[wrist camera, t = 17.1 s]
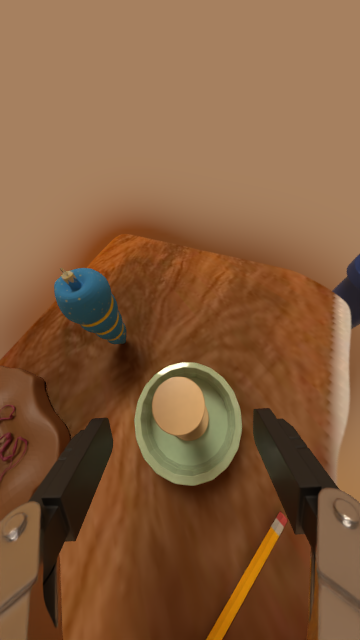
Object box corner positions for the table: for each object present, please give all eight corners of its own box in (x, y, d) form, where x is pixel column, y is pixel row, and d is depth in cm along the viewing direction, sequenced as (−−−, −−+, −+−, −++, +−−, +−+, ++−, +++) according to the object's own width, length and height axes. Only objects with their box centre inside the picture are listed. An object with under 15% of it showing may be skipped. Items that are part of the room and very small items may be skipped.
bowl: (214, 365, 24) (219, 352, 20) (246, 455, 19) (262, 465, 14) (142, 384, 23) (130, 375, 19) (154, 484, 18) (141, 502, 14)
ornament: (123, 322, 29) (65, 240, 16) (147, 336, 27) (105, 257, 14) (101, 348, 27) (14, 277, 14) (126, 365, 25) (53, 302, 12)
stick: (201, 391, 22) (210, 345, 9) (213, 434, 20) (249, 451, 7) (165, 401, 22) (123, 367, 9) (173, 445, 19) (132, 487, 6)
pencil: (290, 522, 16) (285, 516, 16) (108, 854, 10) (100, 847, 10) (282, 514, 16) (278, 509, 16) (109, 818, 11) (102, 811, 10)
